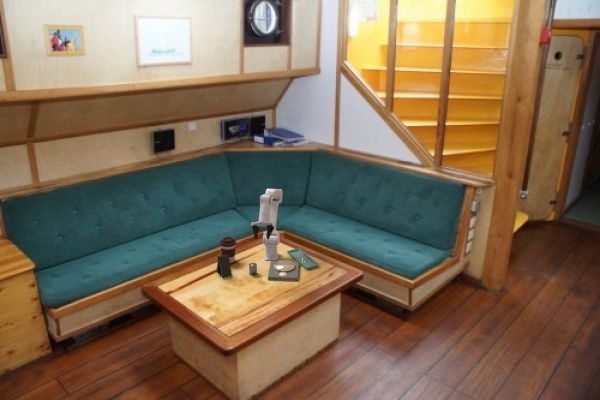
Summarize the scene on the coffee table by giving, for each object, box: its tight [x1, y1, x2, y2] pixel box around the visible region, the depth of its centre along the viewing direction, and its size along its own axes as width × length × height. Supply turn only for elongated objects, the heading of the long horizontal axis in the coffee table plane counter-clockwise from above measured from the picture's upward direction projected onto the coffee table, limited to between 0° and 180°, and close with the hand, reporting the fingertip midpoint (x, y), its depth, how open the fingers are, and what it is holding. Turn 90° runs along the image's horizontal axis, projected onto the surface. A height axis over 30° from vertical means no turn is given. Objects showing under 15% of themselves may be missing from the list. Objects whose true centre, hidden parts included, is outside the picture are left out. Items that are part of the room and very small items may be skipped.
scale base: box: [267, 260, 300, 282], centre depth 290 cm, size 20×17×2 cm
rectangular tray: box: [286, 247, 320, 271], centre depth 305 cm, size 26×9×2 cm, turn 29°
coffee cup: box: [219, 236, 237, 264], centre depth 300 cm, size 10×10×15 cm
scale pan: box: [273, 259, 295, 272], centre depth 292 cm, size 13×13×1 cm
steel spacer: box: [248, 262, 258, 276], centre depth 287 cm, size 4×4×6 cm
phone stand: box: [216, 254, 233, 278], centre depth 286 cm, size 9×6×12 cm, turn 32°
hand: (261, 238), depth 272 cm, fingers open, 7 cm apart
